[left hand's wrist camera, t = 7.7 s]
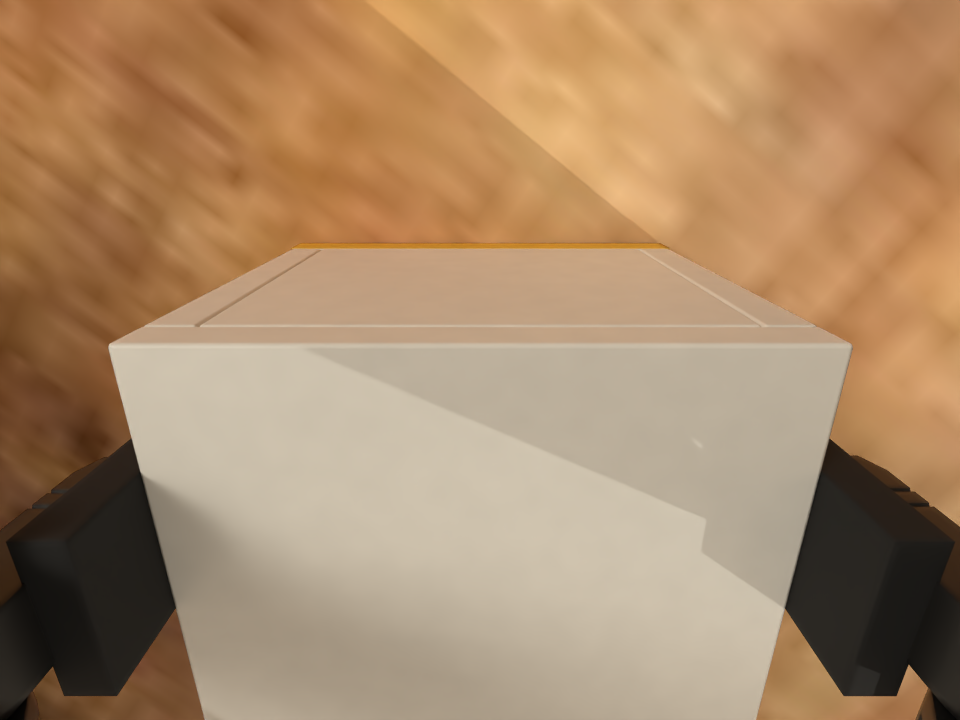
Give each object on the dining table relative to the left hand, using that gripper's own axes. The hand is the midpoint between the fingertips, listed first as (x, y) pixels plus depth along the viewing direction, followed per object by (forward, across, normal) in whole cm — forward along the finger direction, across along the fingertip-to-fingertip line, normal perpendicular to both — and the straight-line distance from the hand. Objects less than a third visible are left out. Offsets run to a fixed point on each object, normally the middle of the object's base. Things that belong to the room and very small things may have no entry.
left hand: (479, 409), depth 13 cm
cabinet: (+4, 0, -4) cm, 5 cm away
